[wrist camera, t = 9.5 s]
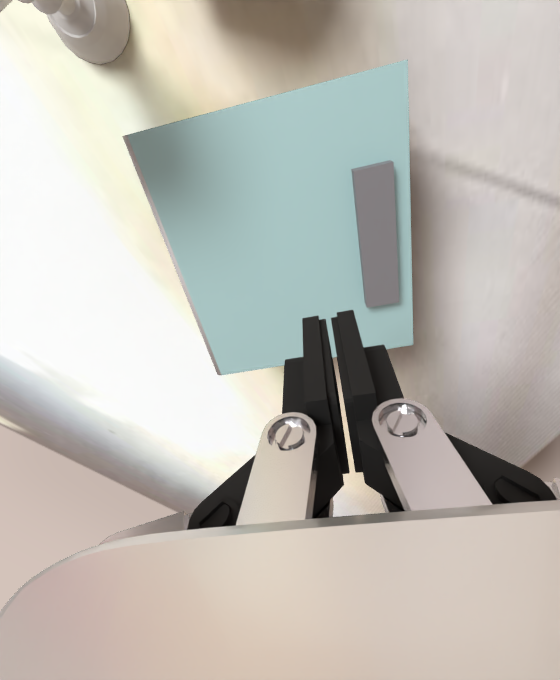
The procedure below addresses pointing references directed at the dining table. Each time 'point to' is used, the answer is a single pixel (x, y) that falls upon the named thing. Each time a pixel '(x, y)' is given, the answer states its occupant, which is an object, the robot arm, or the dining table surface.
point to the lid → (289, 215)
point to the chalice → (87, 26)
